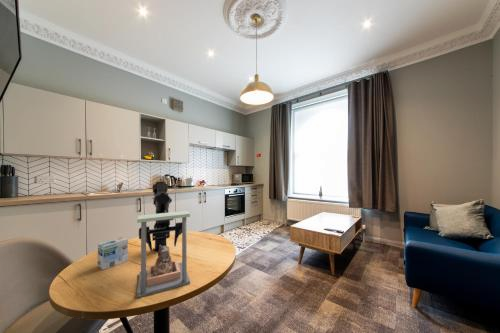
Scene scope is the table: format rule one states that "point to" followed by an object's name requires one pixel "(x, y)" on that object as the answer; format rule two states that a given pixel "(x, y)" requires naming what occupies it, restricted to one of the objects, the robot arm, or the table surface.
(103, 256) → the light bulb box
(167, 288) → the awning stand
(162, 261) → the figurine
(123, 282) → the table surface
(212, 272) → the table surface
